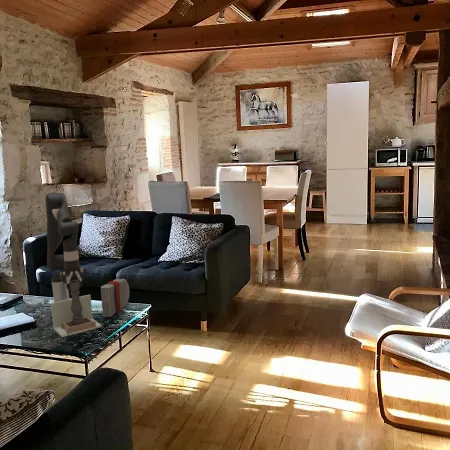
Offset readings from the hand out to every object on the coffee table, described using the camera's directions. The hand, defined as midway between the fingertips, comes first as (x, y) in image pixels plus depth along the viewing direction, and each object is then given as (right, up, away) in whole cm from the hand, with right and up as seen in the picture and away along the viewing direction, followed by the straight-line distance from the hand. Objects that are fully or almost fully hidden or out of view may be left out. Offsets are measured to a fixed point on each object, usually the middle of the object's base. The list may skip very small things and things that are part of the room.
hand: (74, 288), depth 278 cm
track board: (0, -23, +6) cm, 23 cm away
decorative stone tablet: (+17, -17, +30) cm, 39 cm away
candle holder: (+1, -21, +4) cm, 21 cm away
